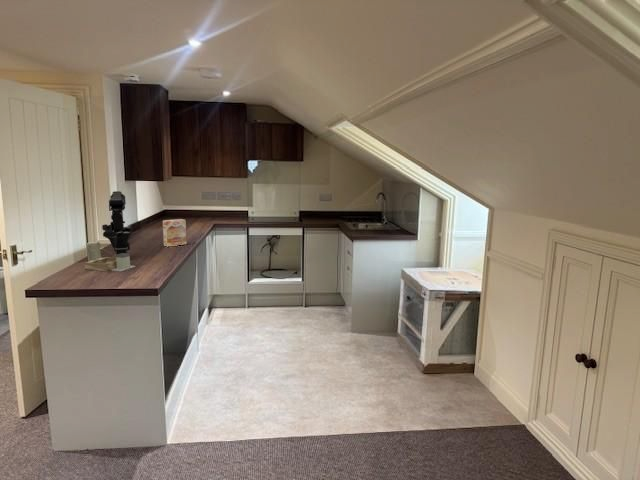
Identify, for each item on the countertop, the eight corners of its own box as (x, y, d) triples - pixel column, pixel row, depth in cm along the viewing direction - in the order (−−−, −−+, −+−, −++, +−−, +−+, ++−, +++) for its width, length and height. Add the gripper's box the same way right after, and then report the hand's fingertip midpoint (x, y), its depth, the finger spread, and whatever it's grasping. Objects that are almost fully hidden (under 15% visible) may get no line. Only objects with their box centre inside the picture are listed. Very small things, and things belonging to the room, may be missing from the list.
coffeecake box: (167, 248, 311) (165, 221, 308) (163, 246, 316) (162, 220, 313) (187, 245, 321) (185, 219, 317) (183, 244, 326) (181, 218, 323)
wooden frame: (105, 263, 261) (104, 257, 261) (125, 265, 257) (125, 258, 257) (85, 269, 246) (84, 262, 246) (106, 271, 243) (105, 264, 242)
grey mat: (126, 266, 255) (126, 265, 255) (135, 266, 254) (135, 265, 253) (111, 270, 244) (111, 269, 244) (121, 271, 242) (121, 270, 242)
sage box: (123, 266, 252) (122, 253, 250) (130, 267, 250) (129, 253, 249) (117, 268, 247) (115, 254, 246) (124, 268, 246) (123, 255, 244)
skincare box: (101, 261, 268) (100, 241, 266) (98, 262, 264) (96, 243, 262) (91, 261, 268) (89, 241, 266) (87, 262, 264) (86, 243, 262)
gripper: (117, 217, 257) (119, 242, 260) (93, 221, 240) (96, 248, 243) (133, 217, 255) (135, 243, 258) (110, 222, 237) (112, 250, 240)
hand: (119, 246), depth 250 cm, fingers open, 9 cm apart
